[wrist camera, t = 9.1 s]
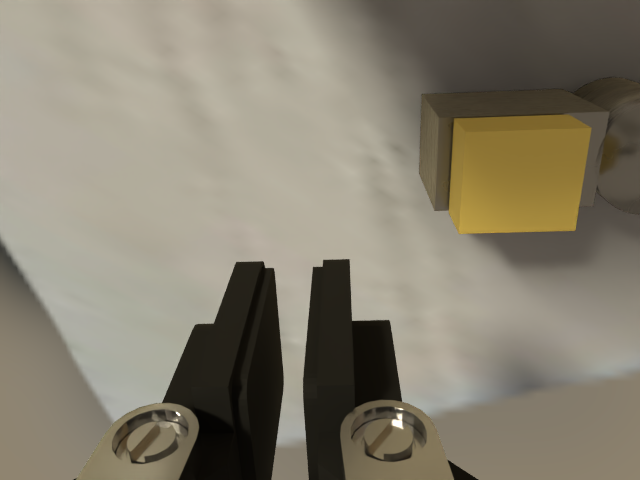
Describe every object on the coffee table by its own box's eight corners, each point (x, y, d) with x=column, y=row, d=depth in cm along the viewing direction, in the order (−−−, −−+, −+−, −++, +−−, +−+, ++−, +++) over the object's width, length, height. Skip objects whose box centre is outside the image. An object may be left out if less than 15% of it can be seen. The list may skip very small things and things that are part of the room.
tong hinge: (418, 182, 26) (434, 220, 22) (422, 84, 24) (439, 106, 20) (644, 174, 26) (704, 212, 22) (665, 75, 24) (734, 95, 20)
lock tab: (448, 212, 22) (459, 233, 20) (454, 118, 20) (465, 132, 18) (555, 209, 21) (575, 230, 20) (568, 114, 20) (591, 127, 18)
